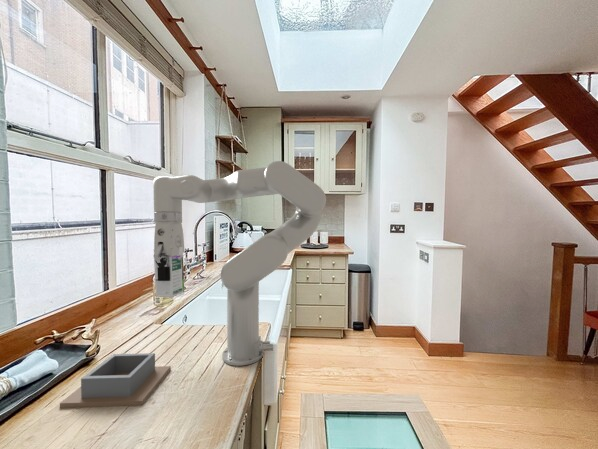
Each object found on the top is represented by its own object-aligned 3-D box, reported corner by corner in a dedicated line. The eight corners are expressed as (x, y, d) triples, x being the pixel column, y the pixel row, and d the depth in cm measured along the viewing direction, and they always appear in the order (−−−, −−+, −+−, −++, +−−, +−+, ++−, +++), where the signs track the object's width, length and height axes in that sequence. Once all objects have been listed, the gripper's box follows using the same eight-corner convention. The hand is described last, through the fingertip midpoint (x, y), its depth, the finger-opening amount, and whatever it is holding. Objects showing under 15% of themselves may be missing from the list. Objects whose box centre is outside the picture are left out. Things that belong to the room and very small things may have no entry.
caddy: (170, 369, 72) (170, 350, 72) (142, 405, 58) (141, 381, 58) (104, 371, 72) (104, 351, 72) (59, 407, 58) (59, 383, 58)
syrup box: (172, 297, 75) (171, 247, 74) (154, 297, 76) (153, 247, 76) (184, 292, 80) (183, 245, 80) (168, 291, 81) (166, 245, 81)
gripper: (167, 217, 69) (169, 284, 69) (192, 218, 87) (193, 272, 87) (138, 218, 69) (140, 285, 69) (169, 219, 86) (170, 272, 87)
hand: (169, 277), depth 78 cm, fingers closed on syrup box, 6 cm apart
